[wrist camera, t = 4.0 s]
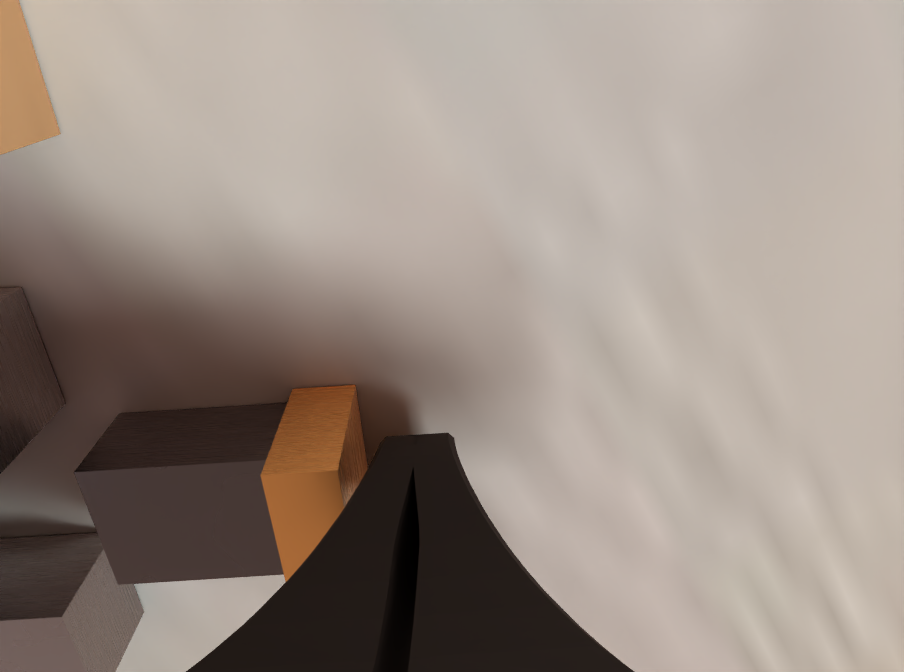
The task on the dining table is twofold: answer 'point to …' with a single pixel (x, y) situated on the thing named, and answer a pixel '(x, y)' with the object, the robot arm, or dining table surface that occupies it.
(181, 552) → the drift key
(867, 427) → the dining table surface
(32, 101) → the frame
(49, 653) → the socket block
